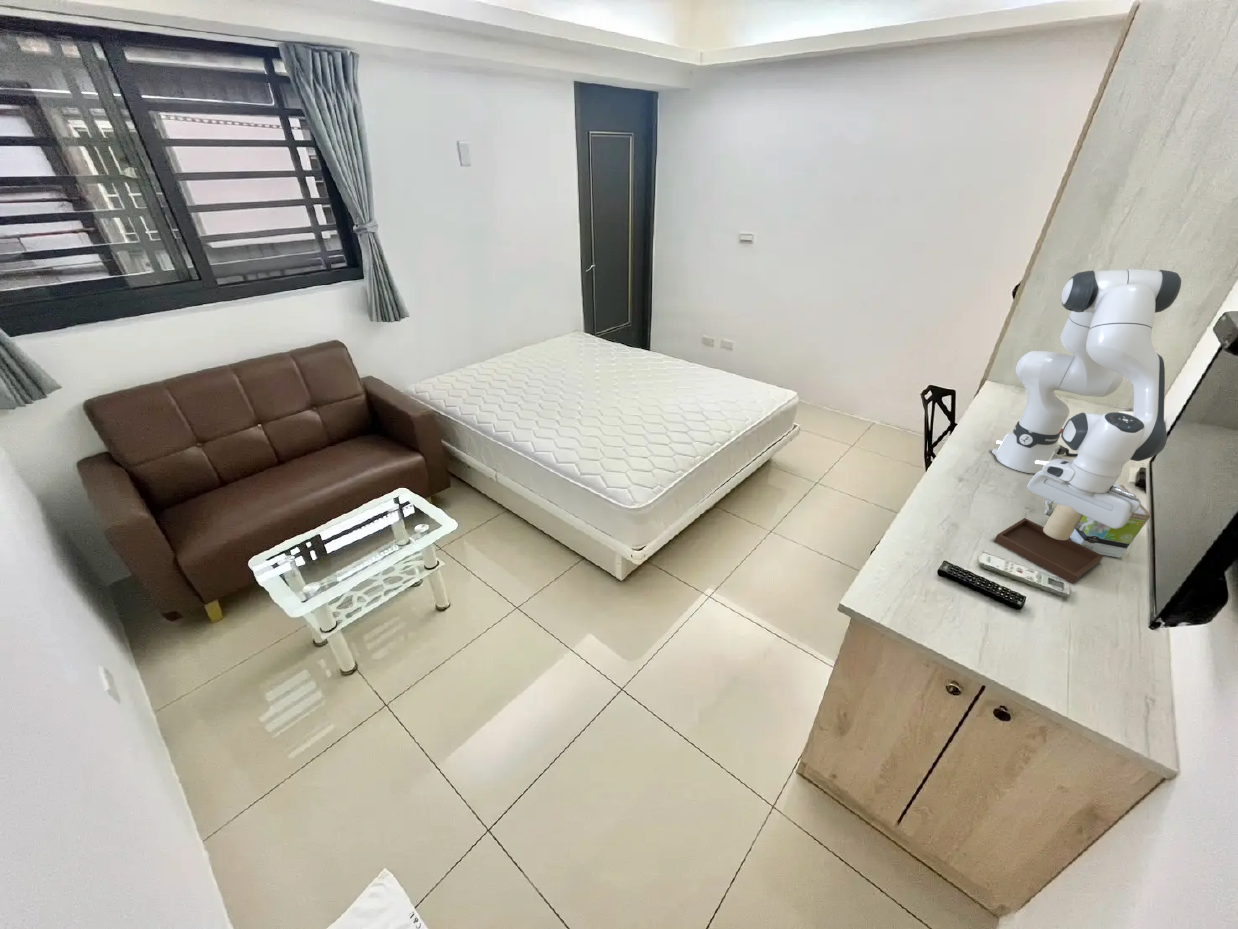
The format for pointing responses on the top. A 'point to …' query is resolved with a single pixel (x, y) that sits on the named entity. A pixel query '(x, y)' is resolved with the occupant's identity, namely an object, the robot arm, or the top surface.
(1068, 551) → the tray
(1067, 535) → the candle
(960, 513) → the top surface
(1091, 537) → the tea box
